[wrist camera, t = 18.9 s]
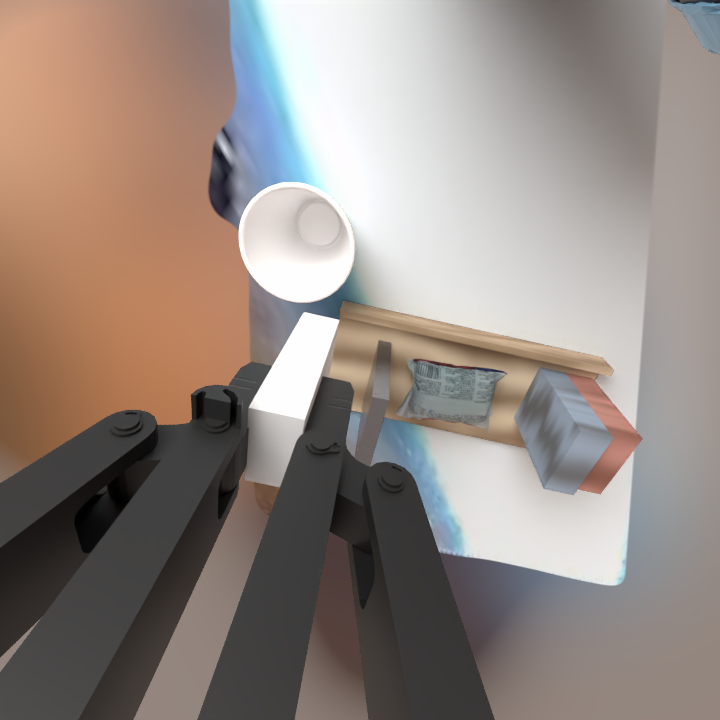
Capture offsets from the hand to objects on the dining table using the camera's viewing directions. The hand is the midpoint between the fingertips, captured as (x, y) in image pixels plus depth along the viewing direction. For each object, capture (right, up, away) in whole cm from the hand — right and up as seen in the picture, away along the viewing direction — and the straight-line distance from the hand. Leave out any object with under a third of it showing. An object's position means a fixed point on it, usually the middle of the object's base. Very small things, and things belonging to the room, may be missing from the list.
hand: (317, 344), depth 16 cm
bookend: (+4, -3, +32) cm, 33 cm away
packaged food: (+10, -4, +34) cm, 36 cm away
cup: (-3, +14, +25) cm, 29 cm away
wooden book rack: (+14, -3, +33) cm, 36 cm away
